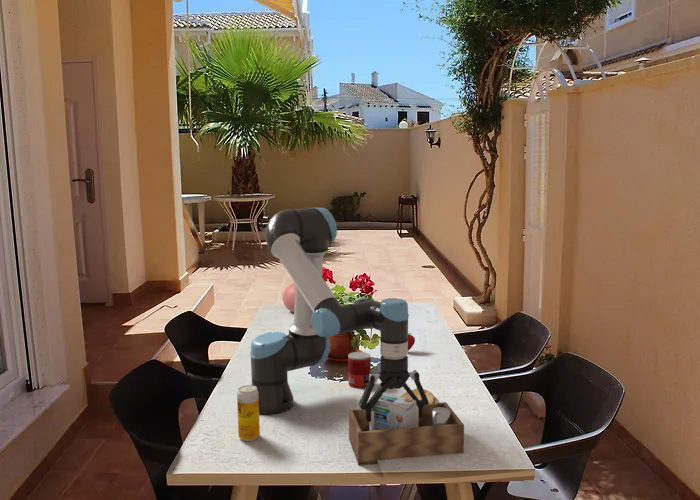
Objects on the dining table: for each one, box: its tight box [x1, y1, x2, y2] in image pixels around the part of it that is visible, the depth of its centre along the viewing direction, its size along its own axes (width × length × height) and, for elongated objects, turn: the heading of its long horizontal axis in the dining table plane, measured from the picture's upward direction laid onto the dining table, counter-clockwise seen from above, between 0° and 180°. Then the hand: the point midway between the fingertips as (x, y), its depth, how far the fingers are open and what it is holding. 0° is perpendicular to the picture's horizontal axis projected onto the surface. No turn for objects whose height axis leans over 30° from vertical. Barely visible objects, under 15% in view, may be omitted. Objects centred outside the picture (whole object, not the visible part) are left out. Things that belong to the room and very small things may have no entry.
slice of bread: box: [399, 387, 436, 403], centre depth 209 cm, size 18×18×4 cm
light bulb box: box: [373, 392, 416, 430], centre depth 178 cm, size 11×7×11 cm, turn 56°
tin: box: [432, 407, 450, 426], centre depth 180 cm, size 5×5×9 cm
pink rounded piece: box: [282, 282, 295, 313], centre depth 329 cm, size 15×20×15 cm
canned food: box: [347, 351, 372, 389], centre depth 227 cm, size 8×8×11 cm
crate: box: [348, 401, 465, 466], centre depth 179 cm, size 29×16×9 cm, turn 99°
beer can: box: [236, 384, 260, 442], centre depth 185 cm, size 6×6×15 cm
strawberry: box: [408, 332, 416, 352], centre depth 262 cm, size 6×8×10 cm
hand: (393, 430), depth 178 cm, fingers closed on light bulb box, 12 cm apart
